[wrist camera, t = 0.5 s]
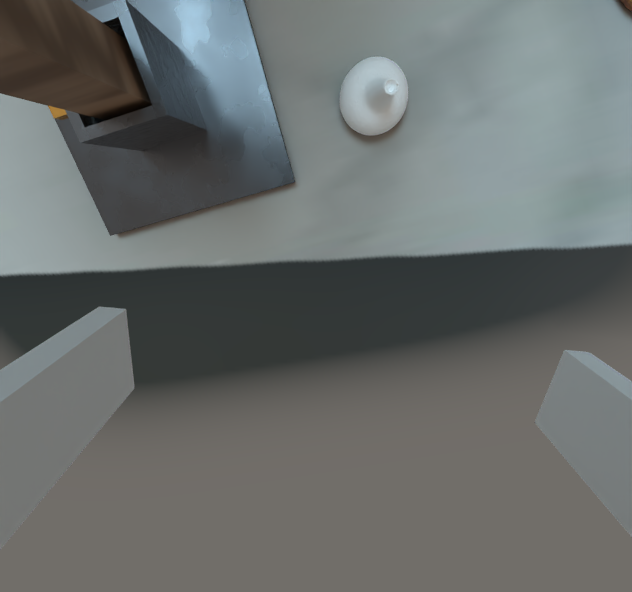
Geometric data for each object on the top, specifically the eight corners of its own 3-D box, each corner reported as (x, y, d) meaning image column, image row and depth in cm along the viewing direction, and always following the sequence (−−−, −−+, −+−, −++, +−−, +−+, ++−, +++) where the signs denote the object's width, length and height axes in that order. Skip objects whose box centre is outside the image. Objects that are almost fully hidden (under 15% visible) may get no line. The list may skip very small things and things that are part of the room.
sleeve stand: (14, 15, 30) (-125, -58, 21) (226, -65, 28) (179, -185, 19) (116, 233, 36) (46, 254, 27) (295, 181, 35) (286, 184, 25)
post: (112, 74, 30) (-335, -144, 9) (171, 54, 29) (-169, -224, 9) (139, 141, 32) (-186, 81, 11) (195, 124, 31) (-40, 26, 11)
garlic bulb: (363, 48, 31) (377, 8, 23) (417, 89, 32) (446, 64, 24) (326, 112, 33) (328, 94, 25) (378, 150, 34) (394, 143, 26)
